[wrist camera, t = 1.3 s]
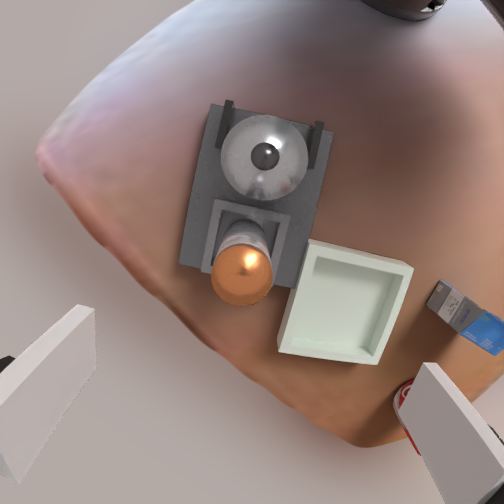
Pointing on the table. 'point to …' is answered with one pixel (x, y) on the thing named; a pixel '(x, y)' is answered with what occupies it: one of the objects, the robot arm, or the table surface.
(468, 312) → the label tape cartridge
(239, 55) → the table surface
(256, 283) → the copper capped bottle
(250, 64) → the table surface
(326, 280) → the tray
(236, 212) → the grey holder rack
